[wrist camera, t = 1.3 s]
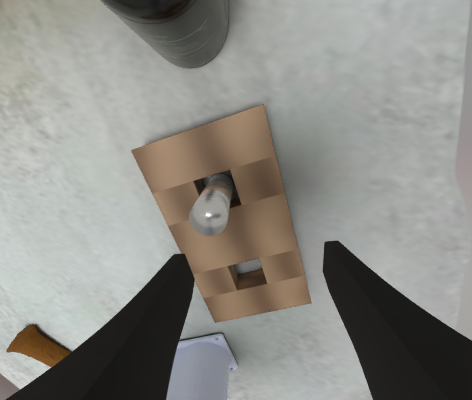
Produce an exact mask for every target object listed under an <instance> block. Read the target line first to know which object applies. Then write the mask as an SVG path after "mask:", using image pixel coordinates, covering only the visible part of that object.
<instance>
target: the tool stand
mask: <svg viewBox="0 0 472 400" xmlns="http://www.w3.org/2000/svg"><path fill="white" fill-rule="evenodd" d="M131 151H132V153H133V155H134V157H135V159H136V161H137V164H138V166H139V168H140V170H141V172H142V174H143V176H144V178H145V180H146V182H147V184H148V186H149V188H150V190H151V192H152V194H153V196H154V198H155V200H156V202H157V205H158V207H159V209H160V211H161V213H162V215H163V217H164V219H165V221H166V223H167V225H168V227H169V229H170V231H171V233H172V235H173V237H174V239H175V241H176V243H177V246H178V248H179V250H180V252H181V254H183V253H185V255H186V258H187V260H188V263H189V266H190V268H191V271H192V273H193V276H194V278H195V282H196V285H197V287H198V289H199V291H200V293H201V295H202V297H203V299H204V301H205V303H206V305H207V307H208V309H209V311H210V313H211V315H212V317H213V319H214V321H215V323H217V322H222V321H227V320H231V319H236V318H241V317H246V316H251V315H256V314H261V313H266V312H271V311H276V310H281V309H286V308H291V307H296V306H300V305H305V304H310V303H311V299H310V295H309V291H308V287H307V283H306V278H305V274H304V270H303V266H302V262H301V258H300V253H299V249H298V245H297V241H296V237H295V233H294V229H293V224H292V220H291V216H290V212H289V208H288V204H287V199H286V195H285V191H284V187H283V183H282V179H281V175H280V170H279V166H278V162H277V158H276V154H275V150H274V145H273V141H272V137H271V133H270V129H269V125H268V121H267V116H266V112H265V108H264V104H263V105H260V106H257V107H254V108H251V109H248V110H245V111H243V112H240V113H237V114H234V115H231V116H228V117H225V118H222V119H220V120H217V121H214V122H211V123H208V124H205V125H202V126H200V127H197V128H194V129H191V130H188V131H185V132H182V133H179V134H177V135H174V136H171V137H168V138H165V139H162V140H159V141H156V142H154V143H151V144H148V145H145V146H142V147H139V148H136V149H133V150H131ZM227 170H230V171H231V174H232V177H233V180H234V183H235V186H236V189H237V192H238V195H239V197H238V198H235V199H231V202H230V208H229V215H228V221H227V225H226V227H225V229H224V230H223V231H222V232H221V233H219V234H217V235H213V236H206V235H202V234H200V233H198V232H197V231H195V230H194V229H193V227H192V226H191V224H190V221H189V214H190V211H191V209H192V207H193V206H194V204H195V203H196V201H197V199H198V198H199V196H200V195H201V193H202V191H203V190H204V187H203V185H202V182H201V180H200V179H201V178H204V177H208V176H211V175H214V174H217V173H220V172H224V171H227ZM255 259H260V262H261V265H262V268H263V269H262V270H258V271H253V272H249V273H245V274H241V275H237V272H236V270H235V267H234V264H238V263H242V262H247V261H251V260H255Z"/></svg>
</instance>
